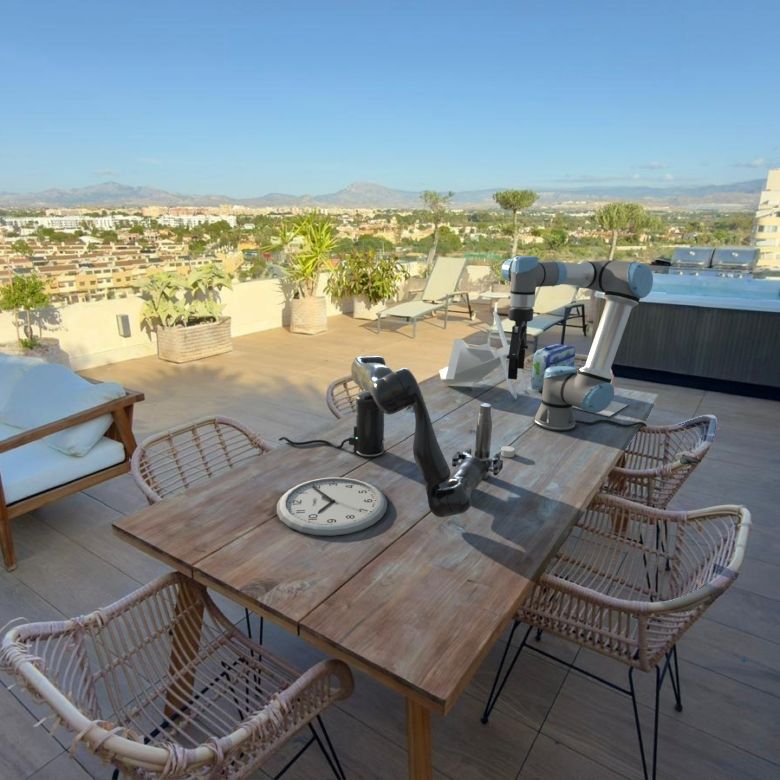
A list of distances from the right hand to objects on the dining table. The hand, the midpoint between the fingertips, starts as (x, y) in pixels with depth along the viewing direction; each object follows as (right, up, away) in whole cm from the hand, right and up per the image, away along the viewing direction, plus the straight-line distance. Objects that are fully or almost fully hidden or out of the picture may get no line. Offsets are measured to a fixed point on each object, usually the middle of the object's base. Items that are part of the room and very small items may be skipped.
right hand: (516, 373), depth 168 cm
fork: (-31, -12, +55) cm, 65 cm away
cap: (-1, -25, +8) cm, 27 cm away
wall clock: (-56, -37, -26) cm, 72 cm away
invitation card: (+51, -13, +58) cm, 78 cm away
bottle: (-13, -32, -7) cm, 35 cm away
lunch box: (+37, -5, +83) cm, 90 cm away
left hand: (-12, -25, -7) cm, 29 cm away
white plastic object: (+1, -6, +75) cm, 75 cm away
